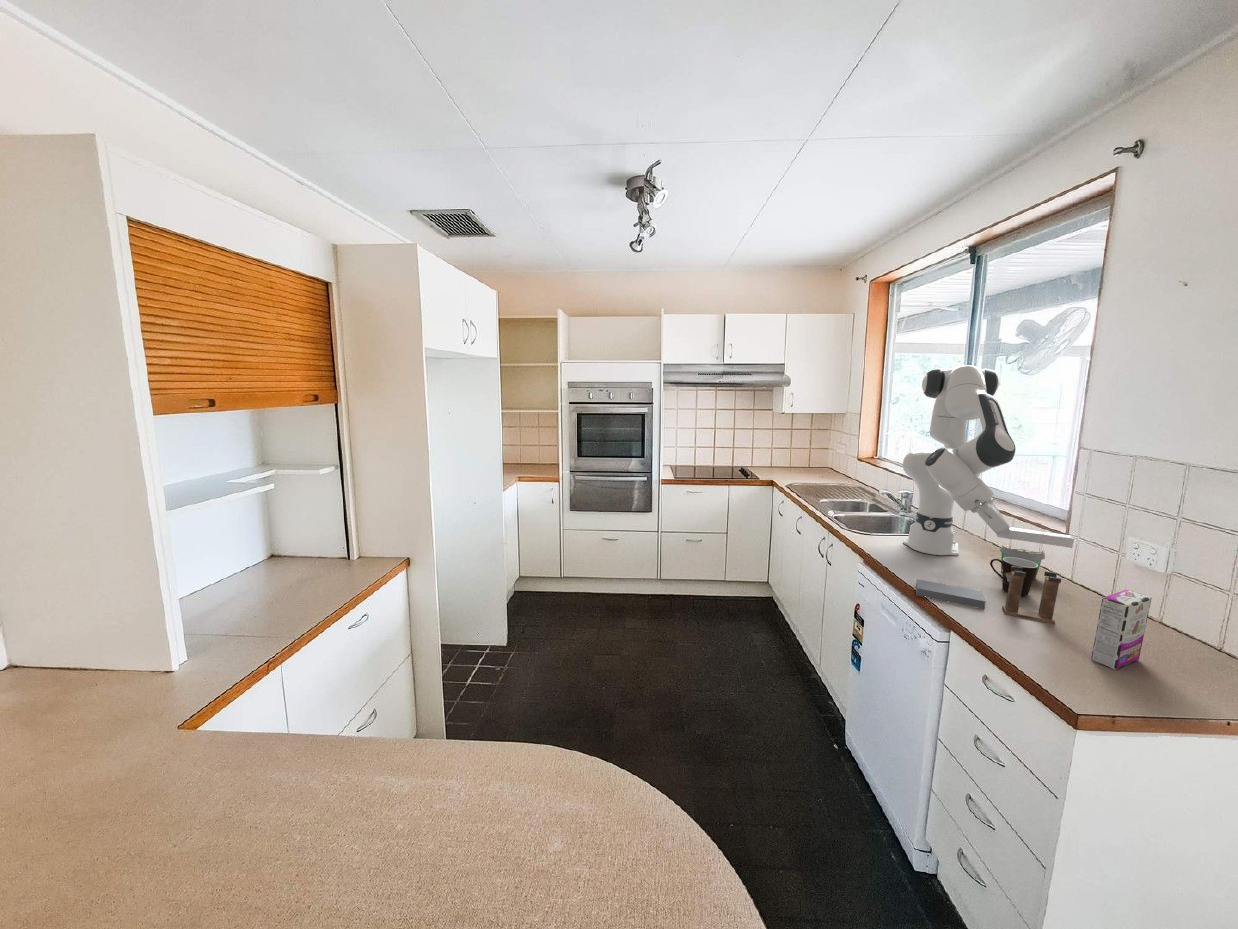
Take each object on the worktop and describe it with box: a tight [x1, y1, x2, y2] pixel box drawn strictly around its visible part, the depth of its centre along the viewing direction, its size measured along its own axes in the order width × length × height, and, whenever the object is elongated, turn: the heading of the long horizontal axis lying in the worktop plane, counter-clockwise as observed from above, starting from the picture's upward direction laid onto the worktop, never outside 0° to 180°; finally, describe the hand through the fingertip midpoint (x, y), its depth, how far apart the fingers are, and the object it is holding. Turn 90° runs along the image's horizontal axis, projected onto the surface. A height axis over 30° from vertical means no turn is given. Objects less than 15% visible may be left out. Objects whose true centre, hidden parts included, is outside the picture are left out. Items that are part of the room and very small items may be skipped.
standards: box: [1001, 566, 1062, 625], centre depth 137 cm, size 11×5×13 cm, turn 60°
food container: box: [999, 544, 1046, 582], centre depth 163 cm, size 12×6×10 cm, turn 68°
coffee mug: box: [989, 557, 1038, 598], centre depth 154 cm, size 12×9×10 cm
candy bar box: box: [1090, 589, 1153, 671], centre depth 115 cm, size 11×5×16 cm, turn 113°
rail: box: [995, 526, 1075, 549], centre depth 135 cm, size 16×3×3 cm, turn 60°
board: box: [915, 578, 986, 610], centre depth 149 cm, size 17×8×2 cm, turn 60°
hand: (1011, 535), depth 137 cm, fingers closed on rail, 3 cm apart
